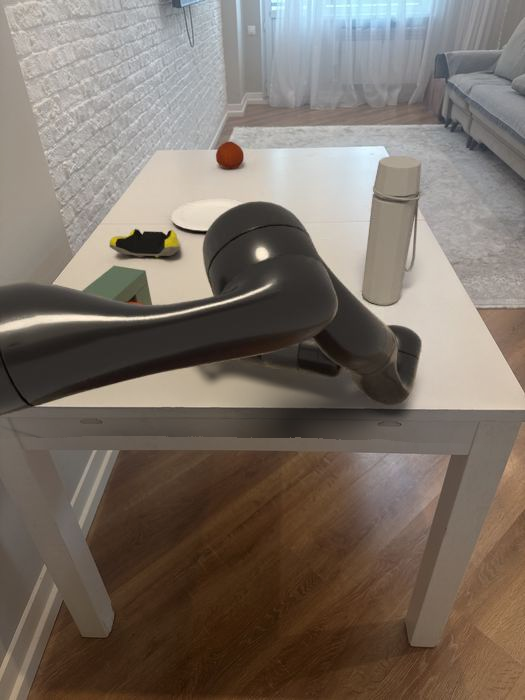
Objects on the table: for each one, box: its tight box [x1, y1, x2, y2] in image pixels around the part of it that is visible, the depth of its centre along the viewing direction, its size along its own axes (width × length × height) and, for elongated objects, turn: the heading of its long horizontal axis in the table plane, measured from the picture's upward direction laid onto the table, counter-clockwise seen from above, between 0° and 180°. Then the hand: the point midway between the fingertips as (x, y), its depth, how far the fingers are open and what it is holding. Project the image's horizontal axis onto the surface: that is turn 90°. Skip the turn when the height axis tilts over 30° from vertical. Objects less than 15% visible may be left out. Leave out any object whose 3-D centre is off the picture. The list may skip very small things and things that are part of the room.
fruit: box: [215, 141, 245, 170], centre depth 157 cm, size 9×9×8 cm
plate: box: [170, 198, 245, 232], centre depth 125 cm, size 21×21×2 cm
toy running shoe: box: [109, 228, 180, 259], centre depth 109 cm, size 15×6×10 cm
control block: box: [81, 265, 153, 305], centre depth 79 cm, size 6×12×12 cm, turn 160°
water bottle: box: [361, 155, 423, 306], centre depth 85 cm, size 9×8×25 cm
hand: (167, 321), depth 75 cm, fingers closed
